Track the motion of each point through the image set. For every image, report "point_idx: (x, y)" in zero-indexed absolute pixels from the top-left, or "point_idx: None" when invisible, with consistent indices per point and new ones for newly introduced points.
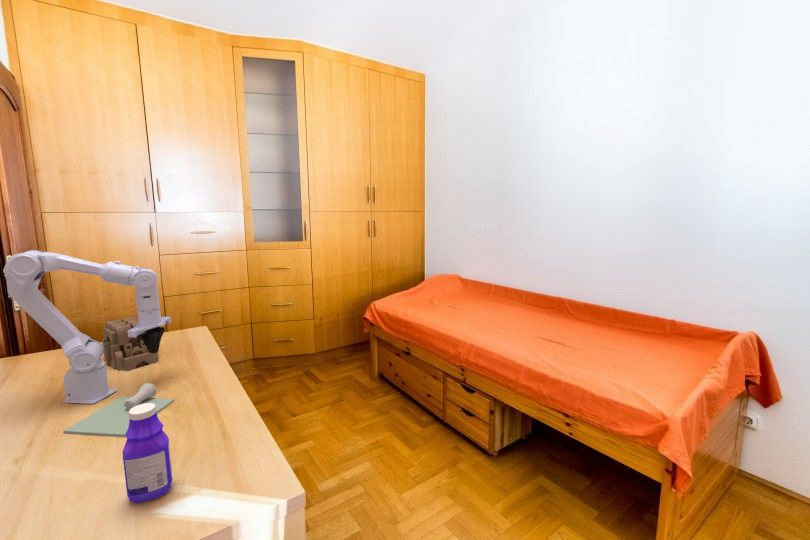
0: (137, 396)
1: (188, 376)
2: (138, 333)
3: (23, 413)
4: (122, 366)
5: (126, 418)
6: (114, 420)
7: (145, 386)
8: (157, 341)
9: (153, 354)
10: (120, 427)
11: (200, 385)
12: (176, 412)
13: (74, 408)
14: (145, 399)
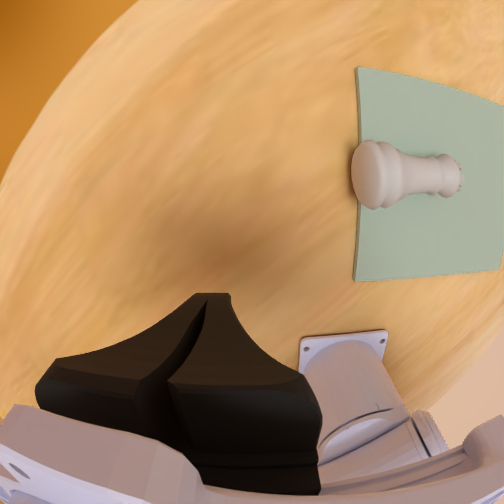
0: (439, 165)
1: (142, 163)
2: (428, 472)
3: None
4: None
5: (470, 152)
6: (478, 180)
7: (403, 170)
8: (188, 333)
9: None
10: (497, 138)
11: (216, 51)
12: (411, 31)
13: (399, 354)
14: None
